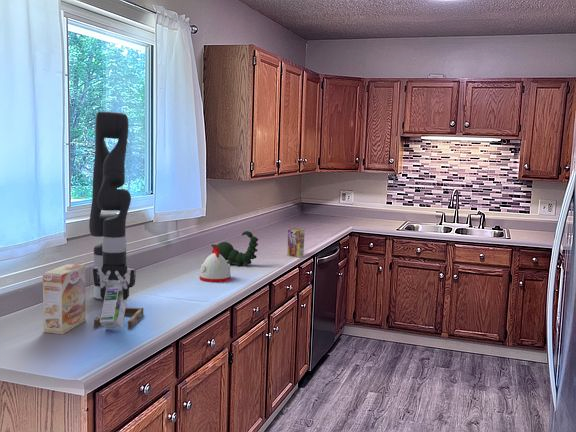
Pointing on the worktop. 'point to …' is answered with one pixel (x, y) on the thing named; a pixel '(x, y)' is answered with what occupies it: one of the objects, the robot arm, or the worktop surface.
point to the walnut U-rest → (134, 312)
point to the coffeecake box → (64, 298)
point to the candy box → (296, 242)
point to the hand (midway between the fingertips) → (114, 298)
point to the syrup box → (113, 306)
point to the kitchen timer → (215, 268)
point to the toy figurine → (234, 255)
